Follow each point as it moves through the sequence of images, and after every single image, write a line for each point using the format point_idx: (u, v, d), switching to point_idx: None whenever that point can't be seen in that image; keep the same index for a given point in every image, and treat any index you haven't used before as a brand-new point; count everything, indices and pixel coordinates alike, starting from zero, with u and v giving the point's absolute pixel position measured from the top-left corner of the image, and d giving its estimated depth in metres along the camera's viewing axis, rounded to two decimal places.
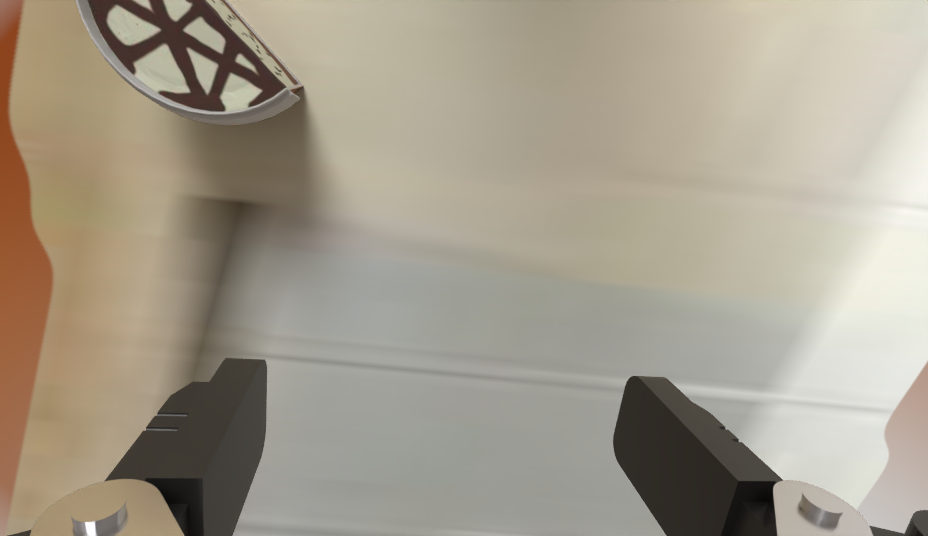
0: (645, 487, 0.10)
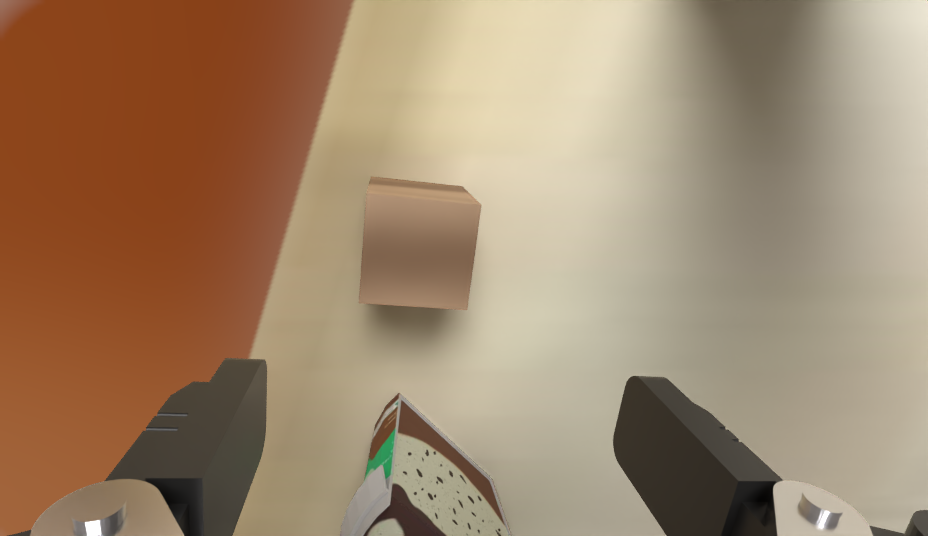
0: (645, 487, 0.10)
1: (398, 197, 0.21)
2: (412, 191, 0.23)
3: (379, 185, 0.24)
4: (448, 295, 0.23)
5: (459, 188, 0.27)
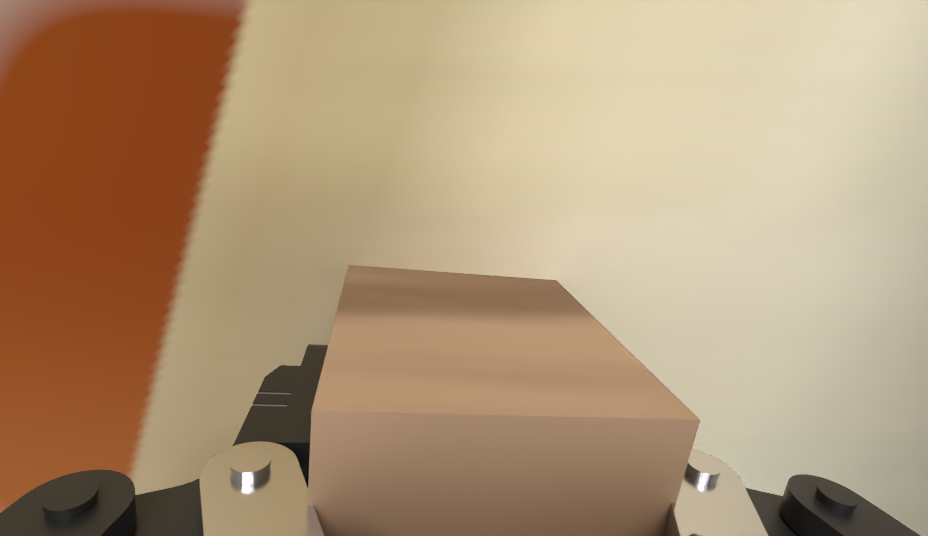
0: None
1: (427, 415, 0.06)
2: (460, 344, 0.08)
3: (365, 318, 0.09)
4: None
5: (557, 293, 0.11)
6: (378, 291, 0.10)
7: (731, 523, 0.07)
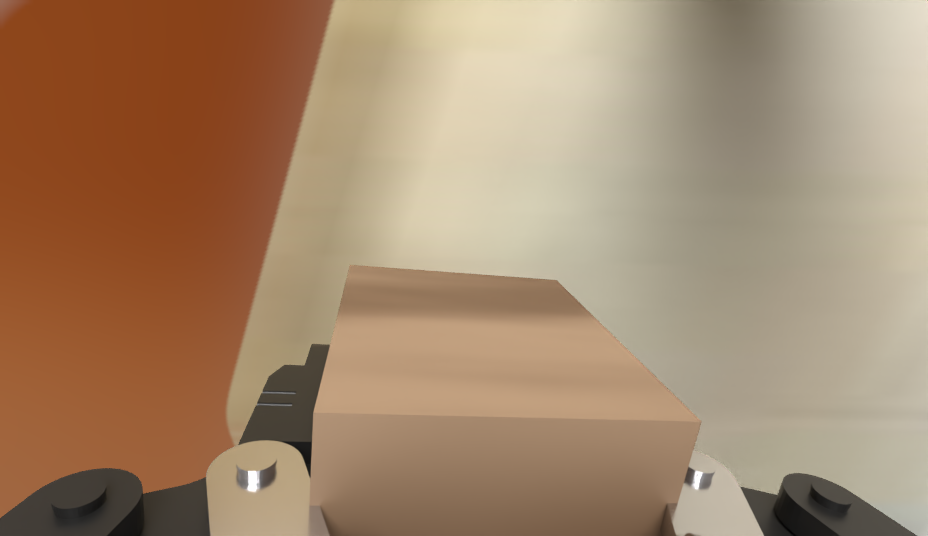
0: None
1: (428, 416, 0.06)
2: (461, 345, 0.08)
3: (366, 319, 0.09)
4: None
5: (558, 294, 0.11)
6: (379, 292, 0.10)
7: (727, 522, 0.07)
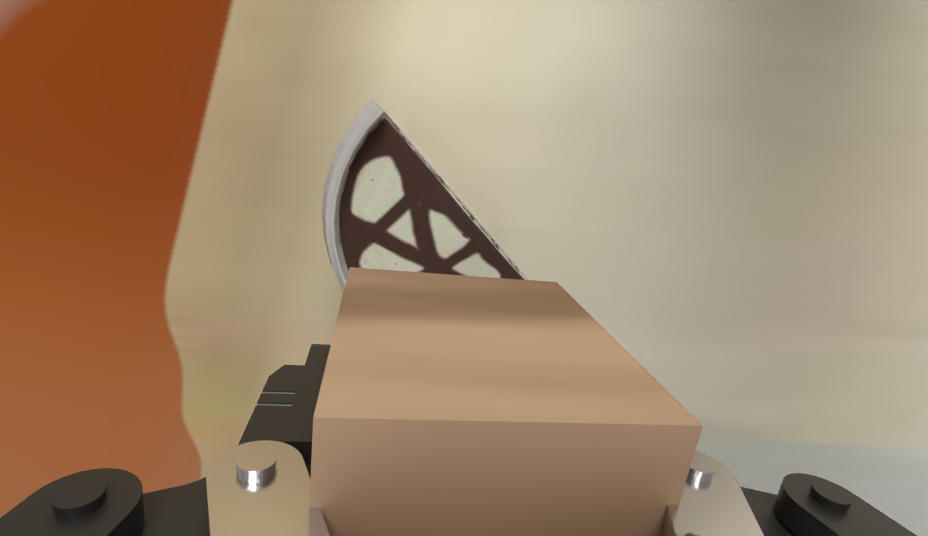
0: None
1: (429, 421, 0.06)
2: (462, 348, 0.08)
3: (366, 322, 0.09)
4: None
5: (559, 296, 0.11)
6: (379, 294, 0.10)
7: (726, 521, 0.07)
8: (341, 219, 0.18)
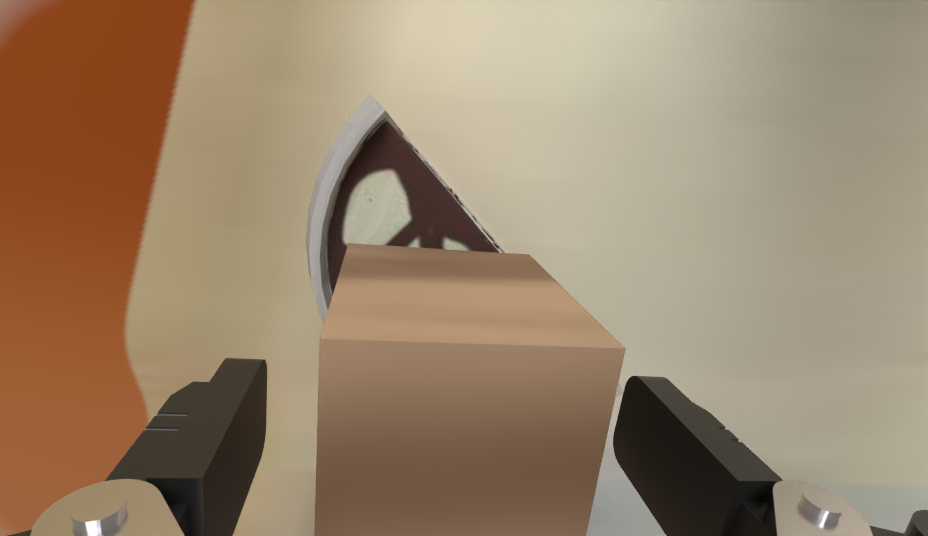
0: (645, 487, 0.10)
1: (409, 343, 0.08)
2: (439, 299, 0.10)
3: (361, 281, 0.10)
4: None
5: (528, 264, 0.13)
6: (373, 262, 0.12)
7: None
8: (330, 250, 0.14)
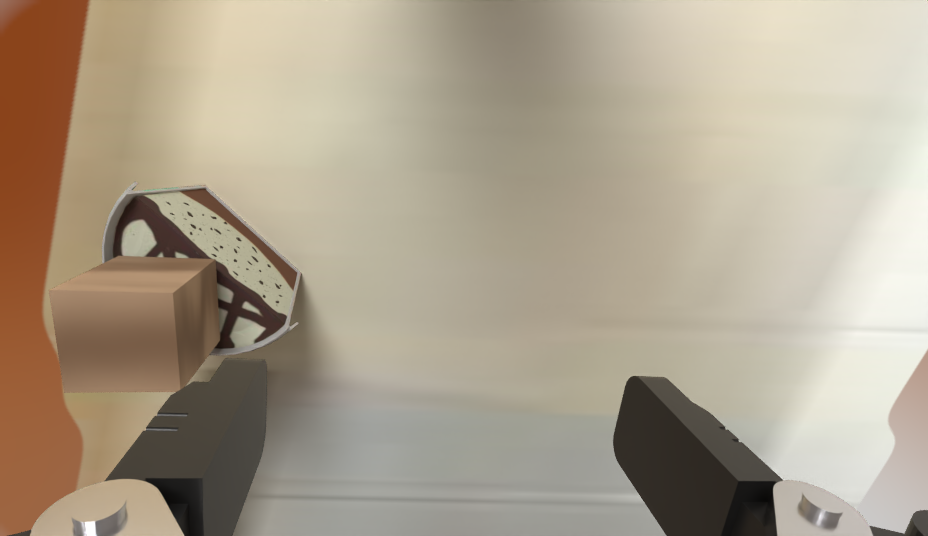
0: (645, 487, 0.10)
1: (83, 291, 0.22)
2: (123, 278, 0.24)
3: (97, 272, 0.24)
4: (157, 379, 0.24)
5: (203, 263, 0.27)
6: (116, 264, 0.26)
7: None
8: None
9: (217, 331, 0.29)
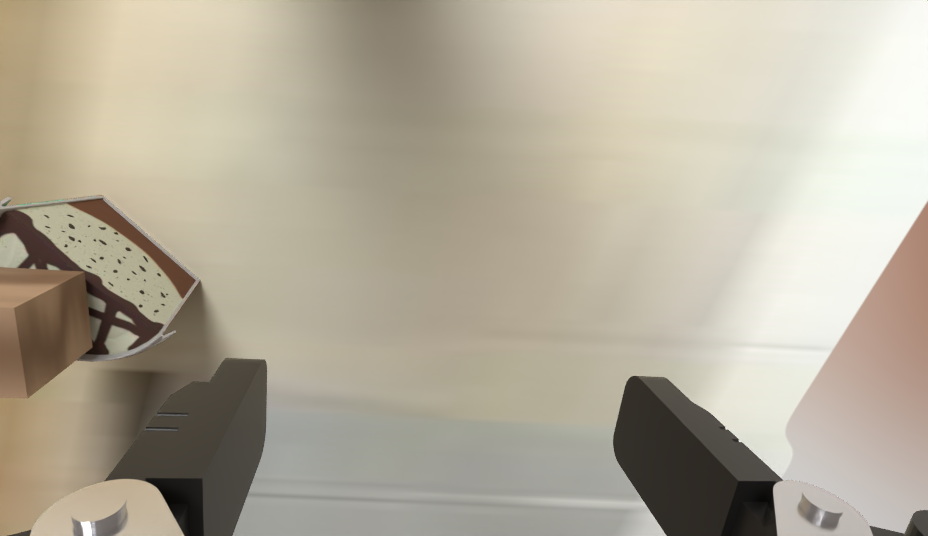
0: (645, 487, 0.10)
1: None
2: None
3: None
4: (4, 386, 0.25)
5: (67, 276, 0.29)
6: None
7: None
8: None
9: (88, 338, 0.31)
